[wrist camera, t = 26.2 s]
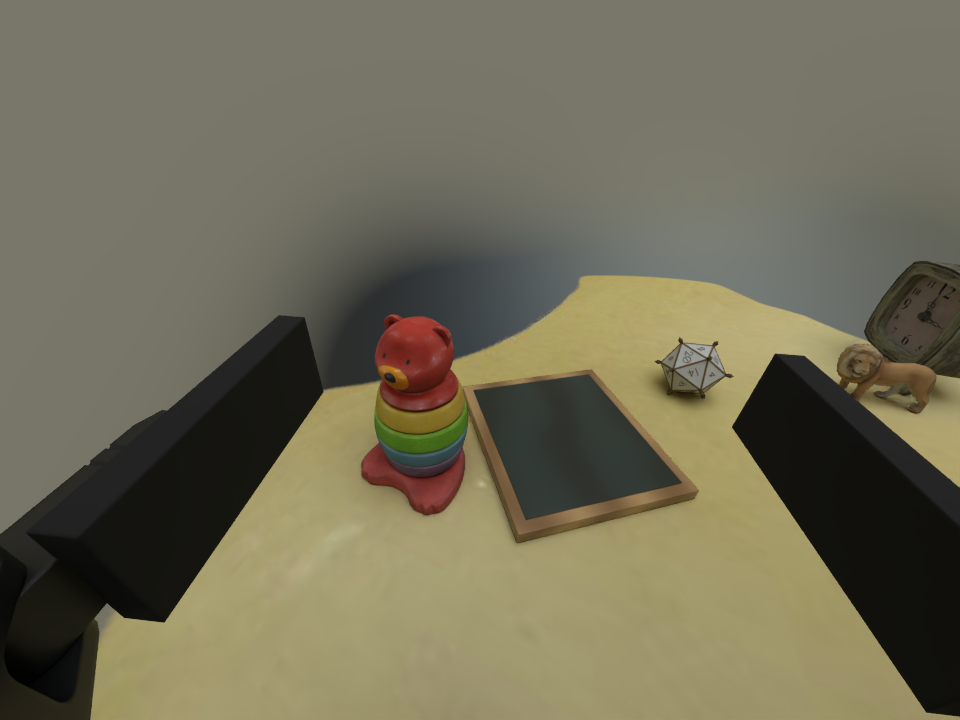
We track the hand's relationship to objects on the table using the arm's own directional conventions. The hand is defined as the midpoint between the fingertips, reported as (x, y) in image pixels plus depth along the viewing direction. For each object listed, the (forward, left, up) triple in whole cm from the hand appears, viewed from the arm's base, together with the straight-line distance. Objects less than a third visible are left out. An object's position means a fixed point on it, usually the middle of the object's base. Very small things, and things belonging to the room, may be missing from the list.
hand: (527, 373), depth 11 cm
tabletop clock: (-77, -20, -27) cm, 84 cm away
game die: (-38, -25, -27) cm, 52 cm away
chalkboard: (-16, -20, -27) cm, 37 cm away
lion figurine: (-64, -17, -27) cm, 71 cm away
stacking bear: (+1, -20, -27) cm, 33 cm away
